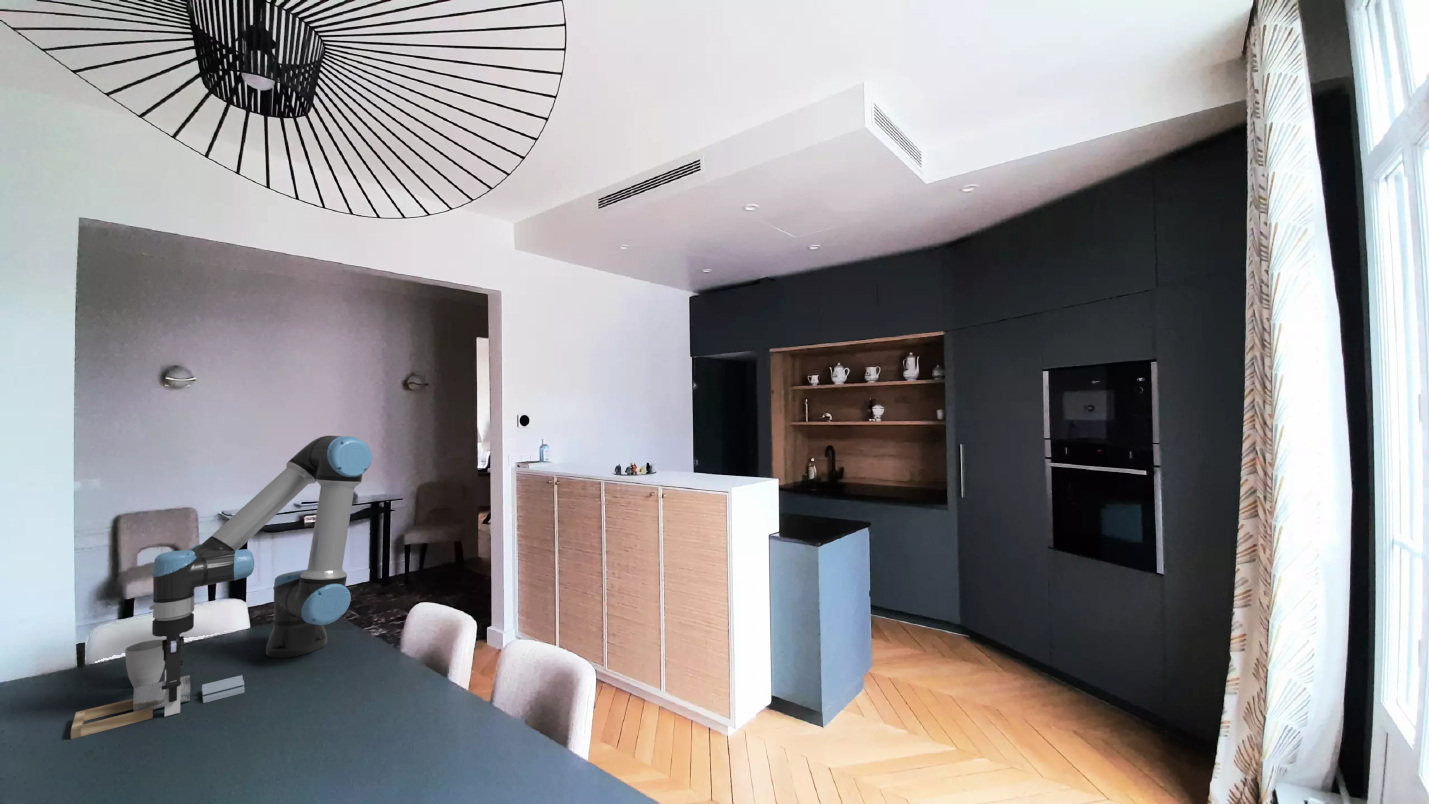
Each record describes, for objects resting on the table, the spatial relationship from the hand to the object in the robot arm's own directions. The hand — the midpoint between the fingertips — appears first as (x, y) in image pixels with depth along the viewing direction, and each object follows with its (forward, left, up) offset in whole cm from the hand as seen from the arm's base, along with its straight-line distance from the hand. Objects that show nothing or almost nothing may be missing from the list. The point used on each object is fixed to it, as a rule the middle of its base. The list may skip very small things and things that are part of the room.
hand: (172, 704), depth 144 cm
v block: (0, +10, 0) cm, 10 cm away
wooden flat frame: (0, -10, 0) cm, 10 cm away
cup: (-20, -5, 0) cm, 21 cm away
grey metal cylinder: (0, -2, 0) cm, 2 cm away
